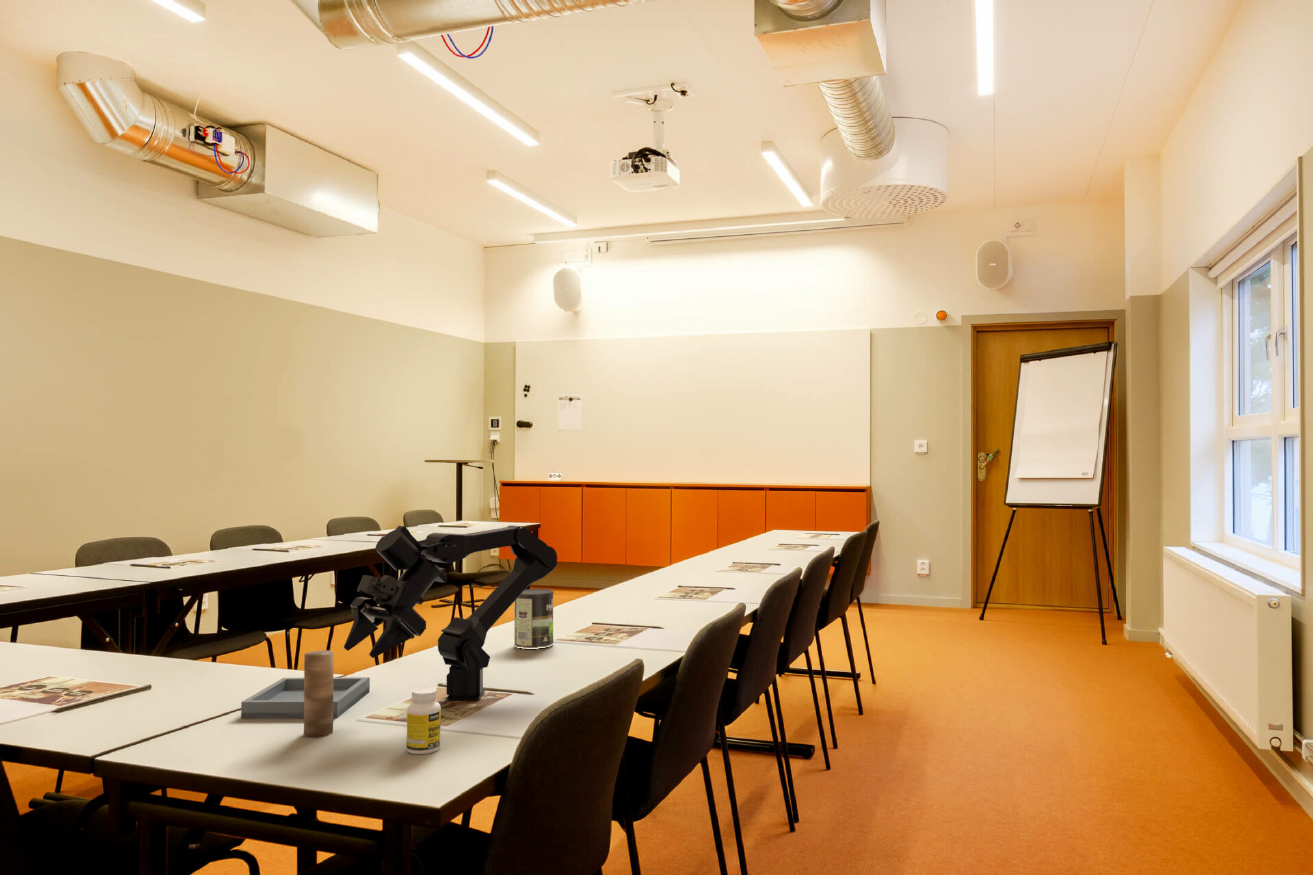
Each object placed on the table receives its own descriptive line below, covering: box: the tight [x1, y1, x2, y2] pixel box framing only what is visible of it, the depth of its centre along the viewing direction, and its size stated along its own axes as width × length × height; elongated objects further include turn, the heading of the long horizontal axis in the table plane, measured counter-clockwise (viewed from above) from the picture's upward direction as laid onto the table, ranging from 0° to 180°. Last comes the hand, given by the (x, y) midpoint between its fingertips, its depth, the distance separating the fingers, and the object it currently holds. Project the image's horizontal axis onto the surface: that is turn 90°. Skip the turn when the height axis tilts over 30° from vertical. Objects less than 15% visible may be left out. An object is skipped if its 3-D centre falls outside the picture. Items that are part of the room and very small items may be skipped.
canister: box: [303, 649, 335, 739], centre depth 150 cm, size 5×5×14 cm
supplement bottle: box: [406, 687, 442, 755], centre depth 141 cm, size 5×5×10 cm
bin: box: [240, 676, 371, 719], centre depth 168 cm, size 18×18×3 cm
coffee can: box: [513, 588, 555, 648], centre depth 221 cm, size 10×10×14 cm
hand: (358, 652), depth 156 cm, fingers open, 9 cm apart
